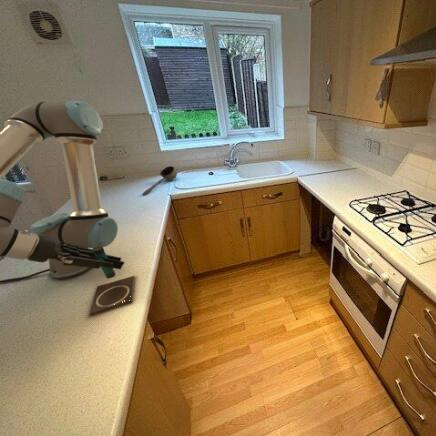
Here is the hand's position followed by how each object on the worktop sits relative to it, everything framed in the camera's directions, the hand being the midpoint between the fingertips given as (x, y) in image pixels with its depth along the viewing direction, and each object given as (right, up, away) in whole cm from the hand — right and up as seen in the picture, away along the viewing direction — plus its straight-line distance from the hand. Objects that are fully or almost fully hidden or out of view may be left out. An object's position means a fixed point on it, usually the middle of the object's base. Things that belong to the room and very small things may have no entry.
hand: (120, 263), depth 86 cm
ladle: (-39, +41, +98) cm, 114 cm away
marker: (-3, -4, -1) cm, 5 cm away
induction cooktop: (-2, -11, 0) cm, 12 cm away
